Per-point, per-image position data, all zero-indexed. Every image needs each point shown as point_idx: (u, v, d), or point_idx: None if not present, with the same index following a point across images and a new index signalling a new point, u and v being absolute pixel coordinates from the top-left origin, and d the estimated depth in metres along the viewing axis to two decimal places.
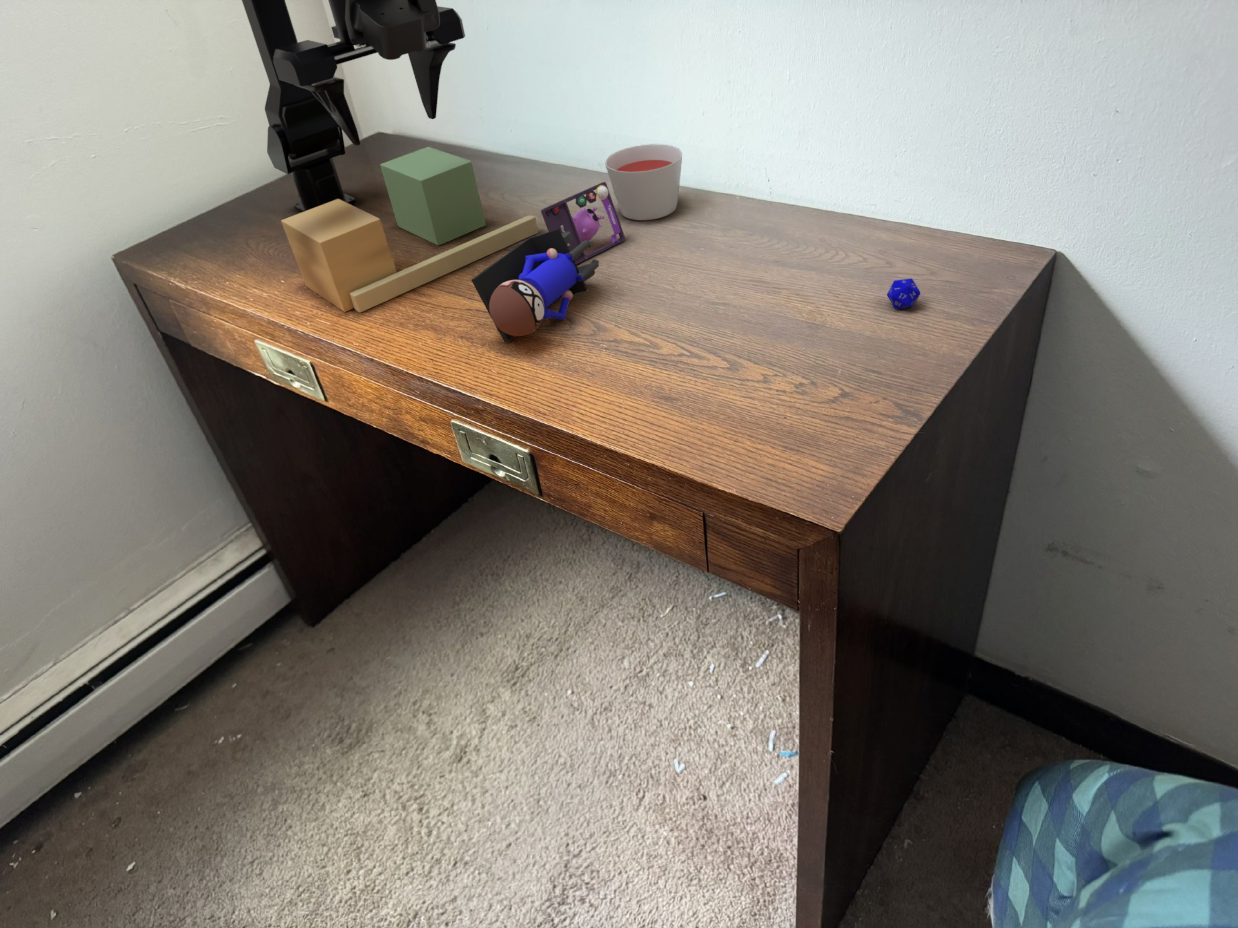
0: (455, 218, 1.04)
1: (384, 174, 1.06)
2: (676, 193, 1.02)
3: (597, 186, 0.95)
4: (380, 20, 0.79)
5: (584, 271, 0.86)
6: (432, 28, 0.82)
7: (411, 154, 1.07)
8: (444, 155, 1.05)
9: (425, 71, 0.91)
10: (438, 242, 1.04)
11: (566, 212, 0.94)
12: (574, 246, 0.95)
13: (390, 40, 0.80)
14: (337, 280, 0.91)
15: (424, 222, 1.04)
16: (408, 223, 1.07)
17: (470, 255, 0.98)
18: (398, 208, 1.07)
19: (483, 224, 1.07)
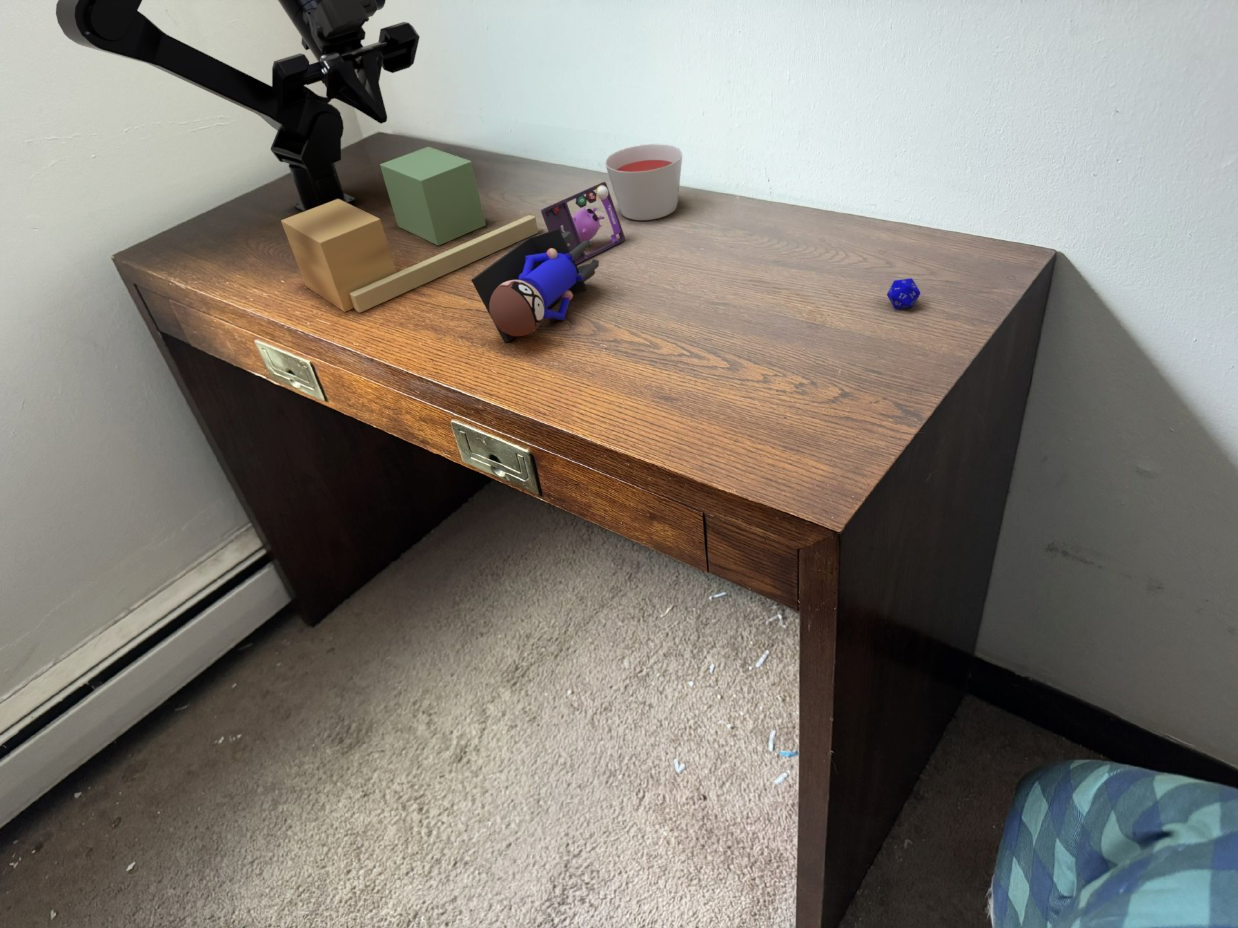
0: (455, 218, 1.04)
1: (384, 174, 1.06)
2: (676, 193, 1.02)
3: (597, 186, 0.95)
4: None
5: (584, 271, 0.86)
6: (367, 1, 1.01)
7: (411, 154, 1.07)
8: (444, 155, 1.05)
9: (366, 83, 1.07)
10: (438, 242, 1.04)
11: (566, 212, 0.94)
12: (574, 246, 0.95)
13: (331, 10, 0.99)
14: (337, 280, 0.91)
15: (424, 222, 1.04)
16: (408, 223, 1.07)
17: (470, 255, 0.98)
18: (398, 208, 1.07)
19: (483, 224, 1.07)
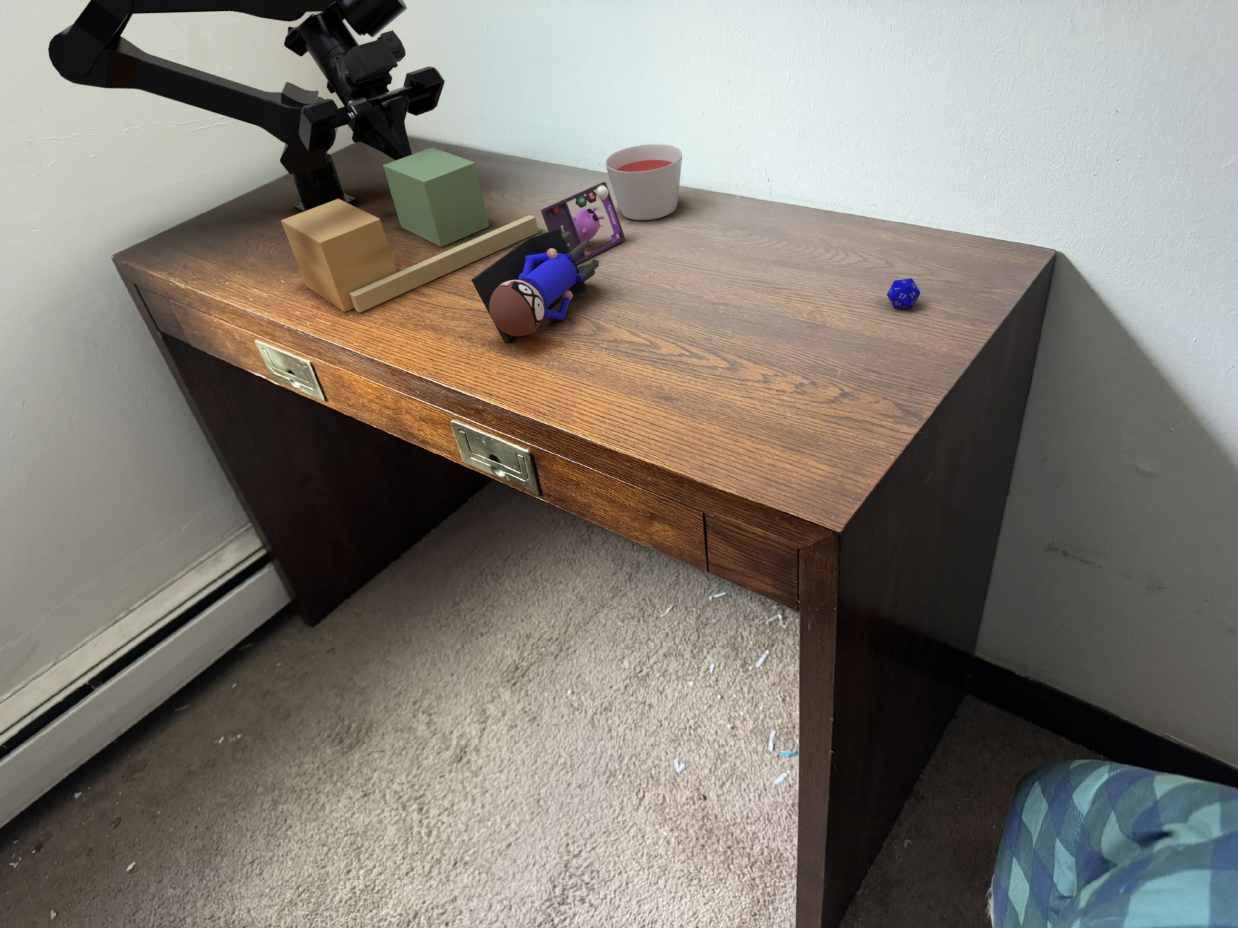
0: (459, 219, 1.03)
1: (387, 175, 1.05)
2: (676, 193, 1.02)
3: (597, 186, 0.95)
4: None
5: (584, 271, 0.86)
6: (396, 47, 1.02)
7: (414, 154, 1.06)
8: (447, 156, 1.04)
9: (393, 127, 1.07)
10: (441, 243, 1.03)
11: (566, 212, 0.94)
12: (574, 246, 0.95)
13: (361, 57, 1.00)
14: (337, 280, 0.91)
15: (427, 223, 1.03)
16: (411, 225, 1.07)
17: (470, 255, 0.98)
18: (401, 209, 1.07)
19: (486, 225, 1.06)
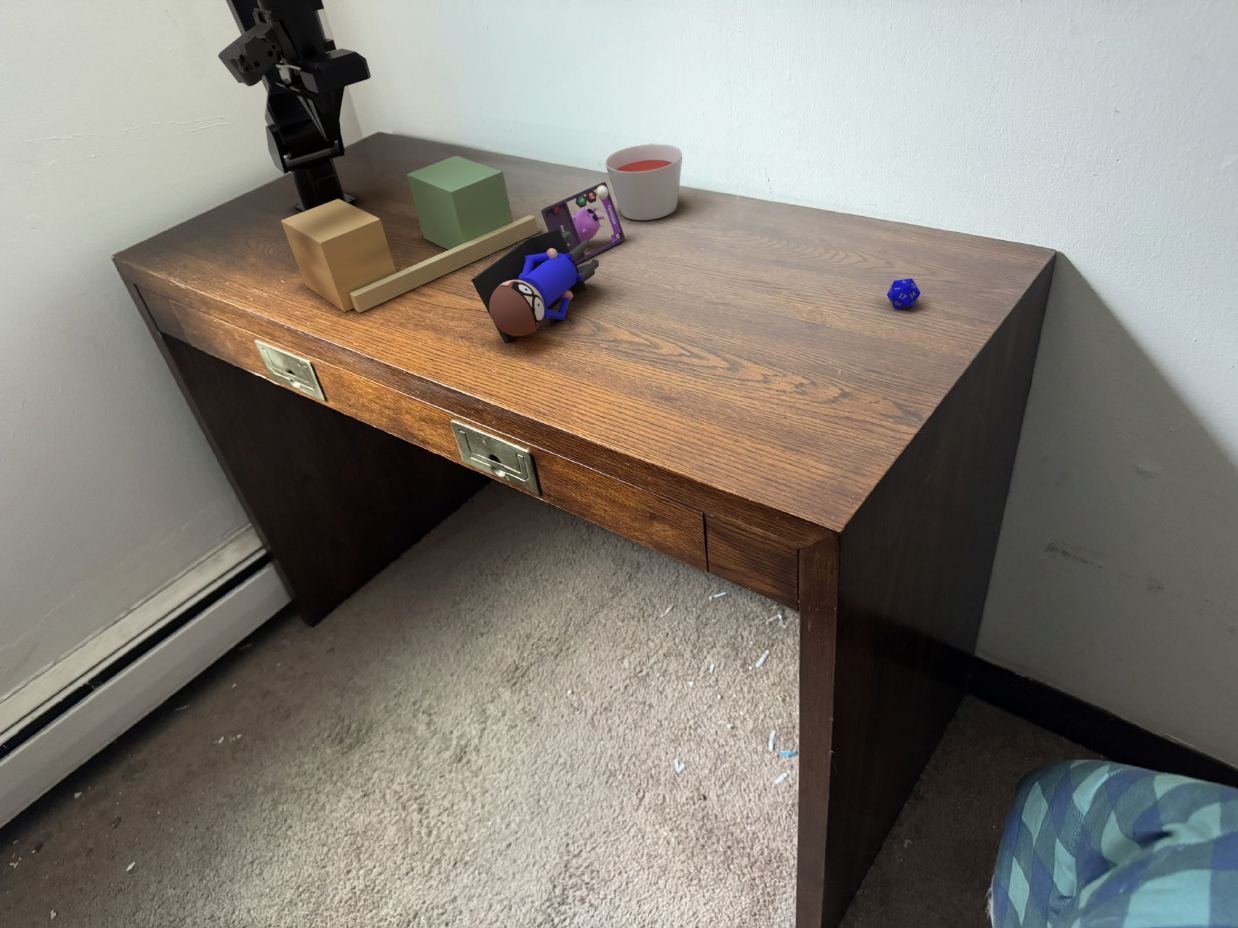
0: (486, 230, 1.00)
1: (411, 184, 1.02)
2: (676, 193, 1.02)
3: (597, 186, 0.95)
4: (227, 48, 0.92)
5: (584, 271, 0.86)
6: (243, 72, 0.90)
7: (438, 163, 1.03)
8: (473, 165, 1.01)
9: None
10: None
11: (566, 212, 0.94)
12: (574, 246, 0.95)
13: (226, 66, 0.93)
14: (337, 280, 0.91)
15: (452, 234, 1.00)
16: (435, 236, 1.03)
17: (470, 255, 0.98)
18: (425, 219, 1.03)
19: None
